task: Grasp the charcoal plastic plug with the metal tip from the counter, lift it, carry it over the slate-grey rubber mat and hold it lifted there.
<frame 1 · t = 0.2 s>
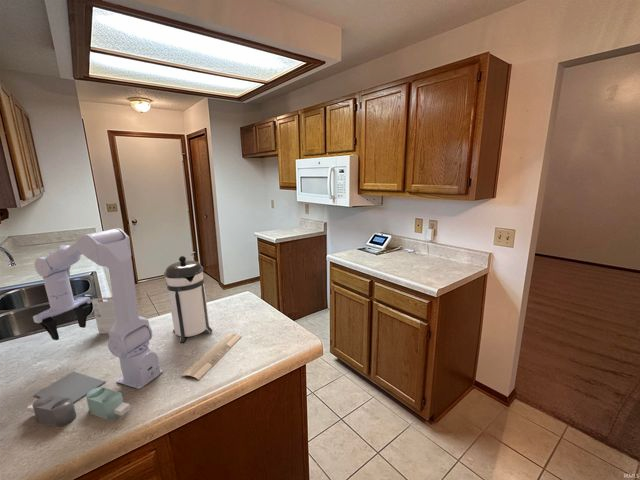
hand: (69, 332, 94), 10 cm above the worktop, fingers open, 7 cm apart
coffee press: (190, 332, 112), on the worktop
teal plug: (107, 410, 76), on the worktop
wooden plank: (216, 357, 97), on the worktop
ink box: (112, 331, 114), on the worktop
plug: (56, 417, 74), on the worktop
mat: (70, 388, 84), on the worktop
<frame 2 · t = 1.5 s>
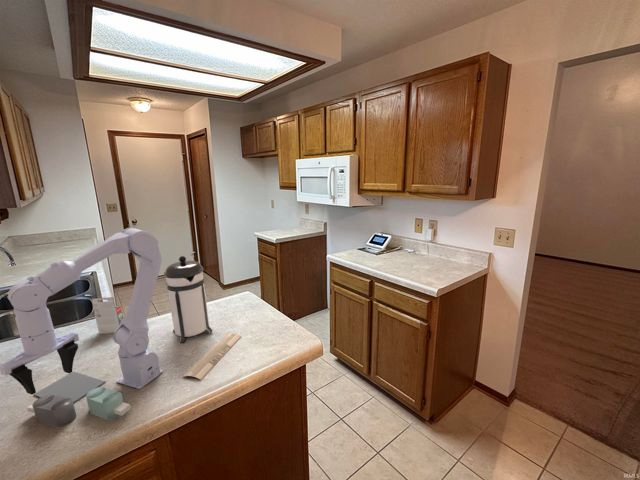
hand: (50, 381, 72), 10 cm above the worktop, fingers open, 7 cm apart
nothing on the worktop moved.
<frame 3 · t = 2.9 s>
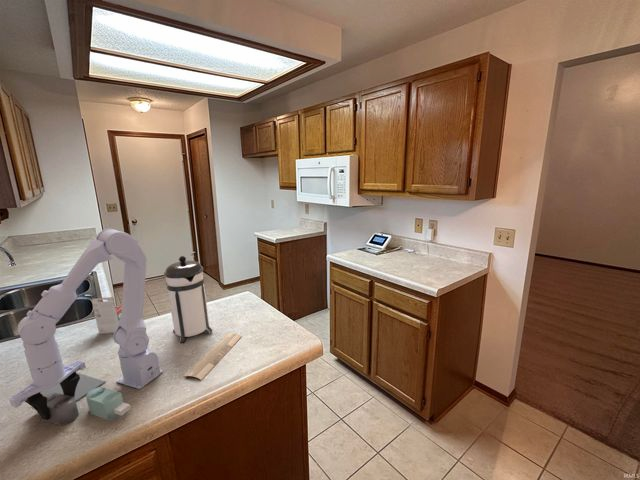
hand: (58, 410, 74), 1 cm above the worktop, fingers open, 5 cm apart
plug: (59, 415, 74), on the worktop, touching gripper
everything else where it was.
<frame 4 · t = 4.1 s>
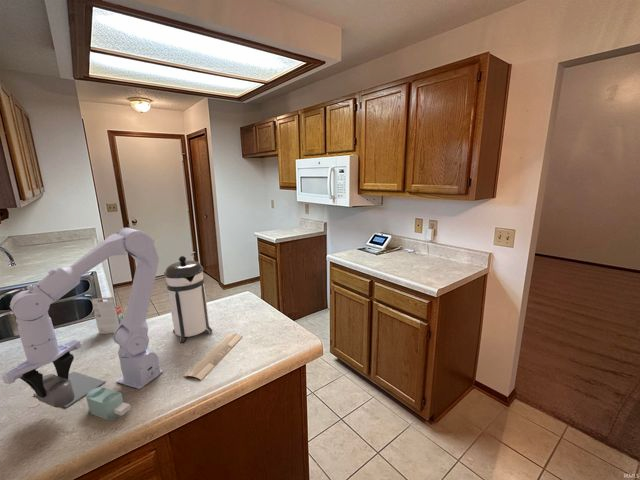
hand: (53, 389, 73), 7 cm above the worktop, fingers closed on plug, 4 cm apart
plug: (56, 398, 73), point 5 cm above the worktop, touching gripper
everything else where it was.
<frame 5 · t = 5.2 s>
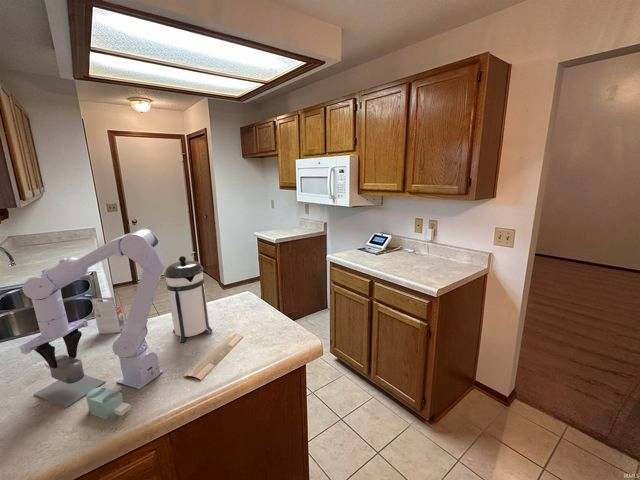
hand: (63, 362, 82), 9 cm above the worktop, fingers closed on plug, 4 cm apart
plug: (68, 375, 83), point 4 cm above the worktop, touching gripper
everything else where it was.
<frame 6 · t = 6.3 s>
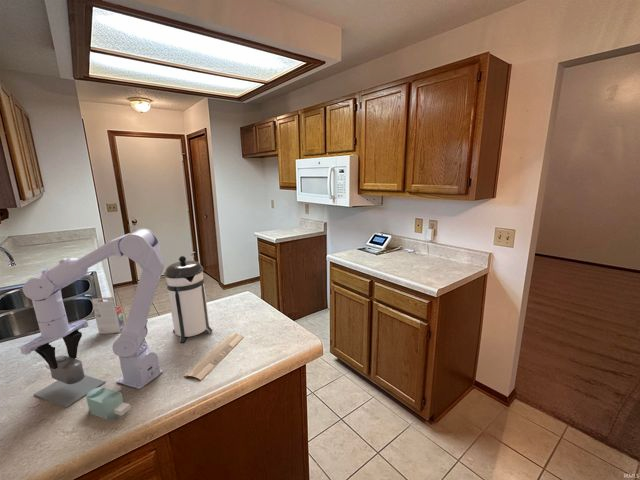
hand: (63, 362, 82), 8 cm above the worktop, fingers closed on plug, 4 cm apart
plug: (68, 376, 83), point 4 cm above the worktop, touching gripper
everything else where it was.
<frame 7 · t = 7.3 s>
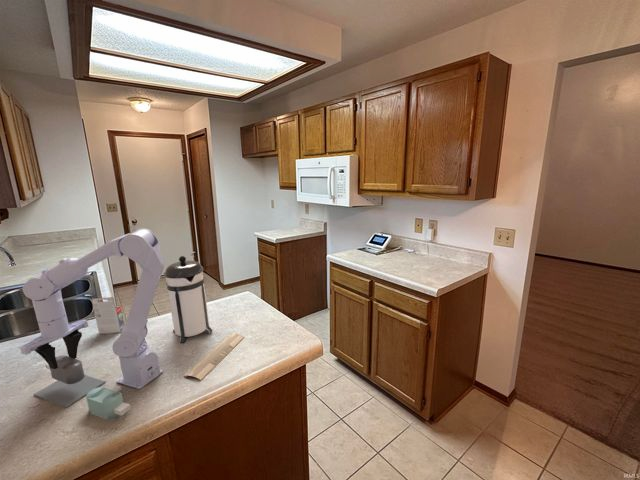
hand: (63, 362, 82), 8 cm above the worktop, fingers closed on plug, 4 cm apart
plug: (68, 376, 83), point 4 cm above the worktop, touching gripper
everything else where it was.
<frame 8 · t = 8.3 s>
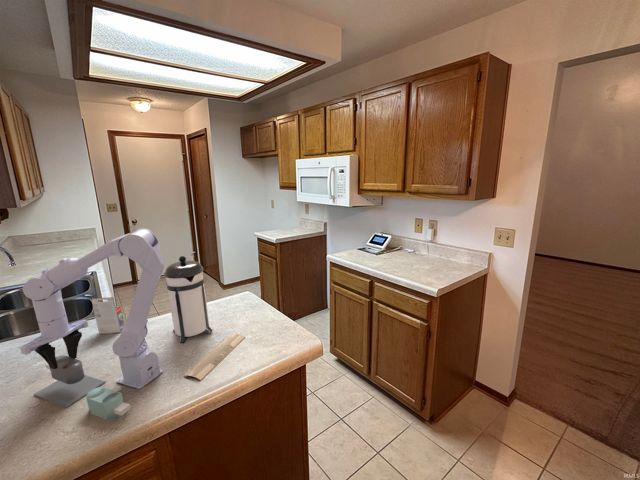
hand: (63, 362, 82), 8 cm above the worktop, fingers closed on plug, 4 cm apart
plug: (68, 376, 83), point 4 cm above the worktop, touching gripper
at the end: the gripper is holding plug; plug point 4.2 cm above the worktop; plug 0.5 cm from the mat (horizontally) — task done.
